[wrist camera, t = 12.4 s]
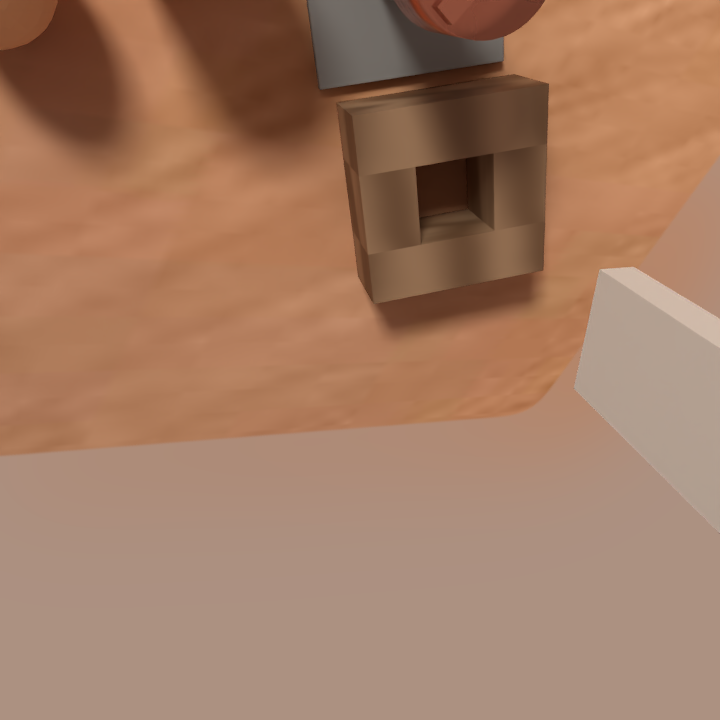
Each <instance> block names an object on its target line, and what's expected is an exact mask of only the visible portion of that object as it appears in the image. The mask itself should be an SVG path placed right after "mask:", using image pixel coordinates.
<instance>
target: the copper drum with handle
mask: <svg viewBox="0 0 720 720" xmlns="http://www.w3.org/2000/svg"><path fill="white" fill-rule="evenodd" d="M392 1H395V2H396V4H397V6H398V7H399V9H400V10H401V11H402V12H403V14H404V15H405V16H406V17H407V18H408V19H409V20H410V21H411V22H413V23H414V24H416V25H417V26H419V27H421V28H422V29H424V30H427V31H430V32H434V33H439V34H444V35H449V36H454V37H459V38H464V39H470V40H475V41H487V40H494V39H498V38H501V37H504V36H506V35H508V34H511V33H512V32H514V31H516V30H517V29H519V28H520V27H522V26H523V25H524V24H525V23H527V22H528V21H529V20H530V19H531V18H532V17H533V16H534V15H535V13H536V12H537V11H538V10H539V8H540V7H541V6H542V4H543V2H544V1H545V0H392Z"/></svg>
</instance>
